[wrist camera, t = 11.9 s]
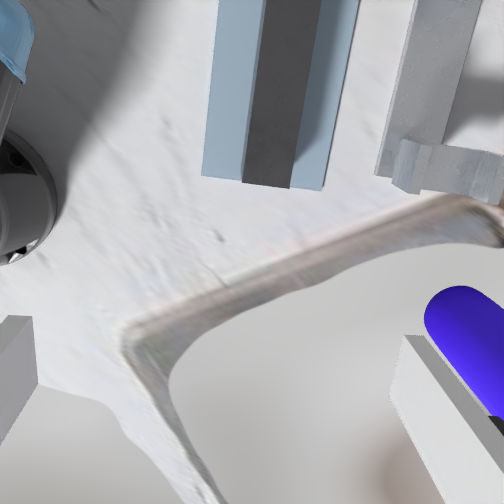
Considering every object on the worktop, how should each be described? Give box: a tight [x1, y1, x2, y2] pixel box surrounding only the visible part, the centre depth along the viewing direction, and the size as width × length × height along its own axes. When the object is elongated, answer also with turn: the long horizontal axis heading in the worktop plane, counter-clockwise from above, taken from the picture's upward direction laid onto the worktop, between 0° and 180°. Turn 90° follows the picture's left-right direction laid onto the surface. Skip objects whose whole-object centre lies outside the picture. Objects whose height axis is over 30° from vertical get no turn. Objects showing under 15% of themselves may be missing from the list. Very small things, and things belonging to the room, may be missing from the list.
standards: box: [374, 0, 504, 205], centre depth 40 cm, size 8×21×12 cm, turn 172°
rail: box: [240, 0, 322, 189], centre depth 40 cm, size 24×4×6 cm, turn 172°
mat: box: [201, 0, 359, 191], centre depth 43 cm, size 13×26×1 cm, turn 172°
